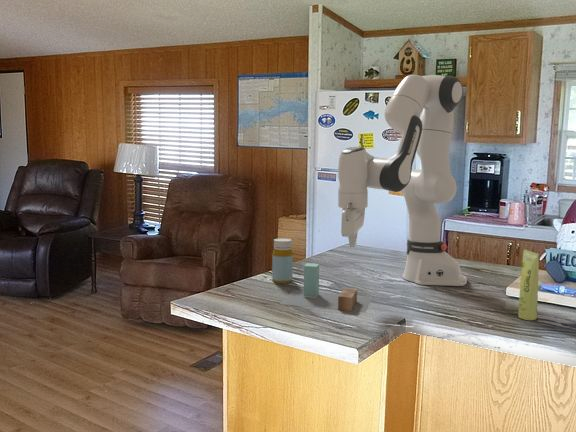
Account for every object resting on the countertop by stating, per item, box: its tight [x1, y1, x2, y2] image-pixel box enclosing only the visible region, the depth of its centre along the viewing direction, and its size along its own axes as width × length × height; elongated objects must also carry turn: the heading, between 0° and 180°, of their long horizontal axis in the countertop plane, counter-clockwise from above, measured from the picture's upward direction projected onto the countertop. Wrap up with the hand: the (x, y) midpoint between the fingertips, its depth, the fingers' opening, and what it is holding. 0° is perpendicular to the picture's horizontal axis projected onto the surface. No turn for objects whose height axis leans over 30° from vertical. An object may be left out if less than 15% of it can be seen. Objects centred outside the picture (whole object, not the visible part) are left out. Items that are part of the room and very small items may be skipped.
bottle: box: [271, 237, 294, 284], centre depth 201 cm, size 7×7×15 cm
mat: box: [279, 290, 373, 313], centre depth 179 cm, size 26×16×1 cm, turn 74°
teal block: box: [303, 262, 320, 298], centre depth 184 cm, size 4×4×10 cm
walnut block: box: [337, 287, 358, 312], centre depth 174 cm, size 4×4×10 cm
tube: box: [517, 248, 540, 321], centre depth 164 cm, size 6×5×20 cm
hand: (352, 246), depth 177 cm, fingers closed
